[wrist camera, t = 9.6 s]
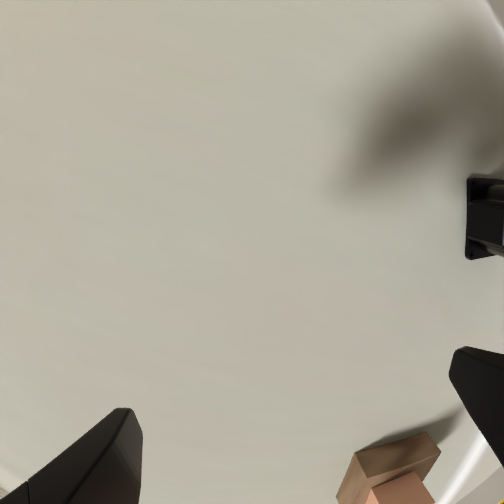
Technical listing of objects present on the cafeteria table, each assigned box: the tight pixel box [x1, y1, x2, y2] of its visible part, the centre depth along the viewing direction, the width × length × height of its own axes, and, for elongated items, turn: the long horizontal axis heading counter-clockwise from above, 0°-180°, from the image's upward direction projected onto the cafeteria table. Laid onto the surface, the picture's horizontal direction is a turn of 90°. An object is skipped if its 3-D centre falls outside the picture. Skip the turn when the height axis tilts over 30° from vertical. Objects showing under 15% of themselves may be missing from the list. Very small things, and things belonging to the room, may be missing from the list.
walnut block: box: [336, 432, 441, 504], centre depth 23 cm, size 9×9×4 cm
